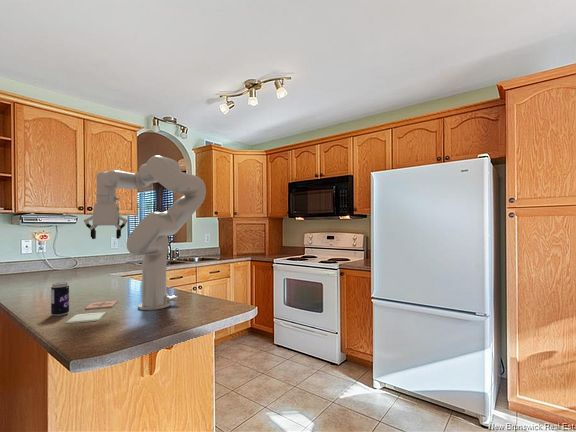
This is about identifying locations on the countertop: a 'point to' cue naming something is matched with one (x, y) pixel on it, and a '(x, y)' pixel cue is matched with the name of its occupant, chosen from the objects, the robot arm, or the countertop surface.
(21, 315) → the countertop surface
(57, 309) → the beverage can
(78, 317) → the pad
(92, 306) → the pad
